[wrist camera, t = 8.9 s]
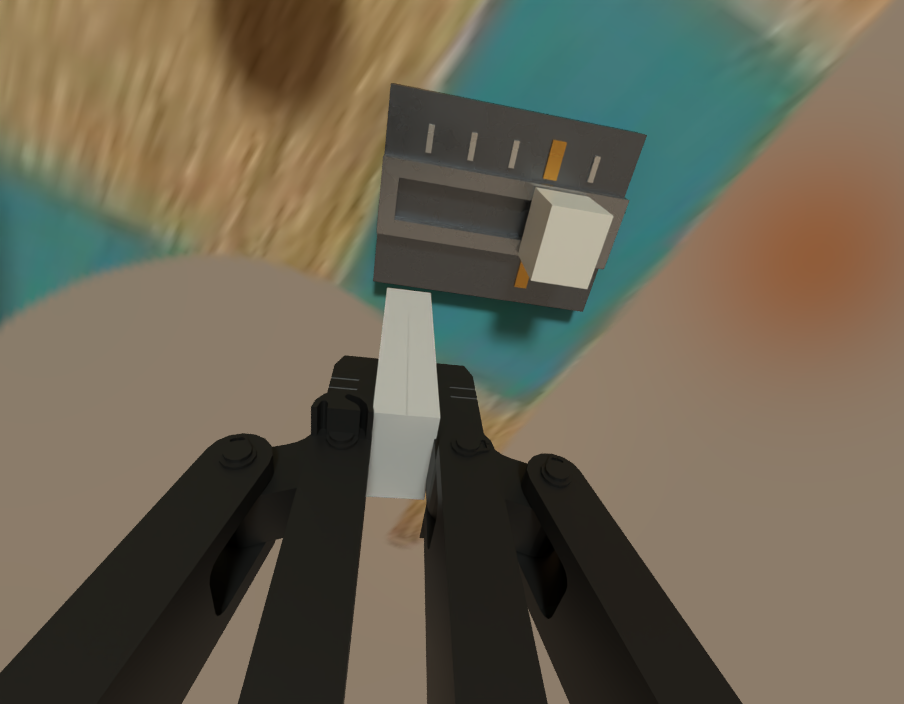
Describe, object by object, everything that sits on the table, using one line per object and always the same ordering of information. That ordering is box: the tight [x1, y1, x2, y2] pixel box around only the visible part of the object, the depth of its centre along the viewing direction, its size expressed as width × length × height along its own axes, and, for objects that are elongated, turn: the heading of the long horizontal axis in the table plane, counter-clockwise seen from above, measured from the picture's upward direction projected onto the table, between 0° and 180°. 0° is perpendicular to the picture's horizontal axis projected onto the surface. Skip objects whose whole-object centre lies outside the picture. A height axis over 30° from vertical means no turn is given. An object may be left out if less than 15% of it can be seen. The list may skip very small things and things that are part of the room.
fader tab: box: [518, 187, 613, 289], centre depth 32 cm, size 4×5×6 cm
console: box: [373, 83, 647, 312], centre depth 34 cm, size 18×14×3 cm
